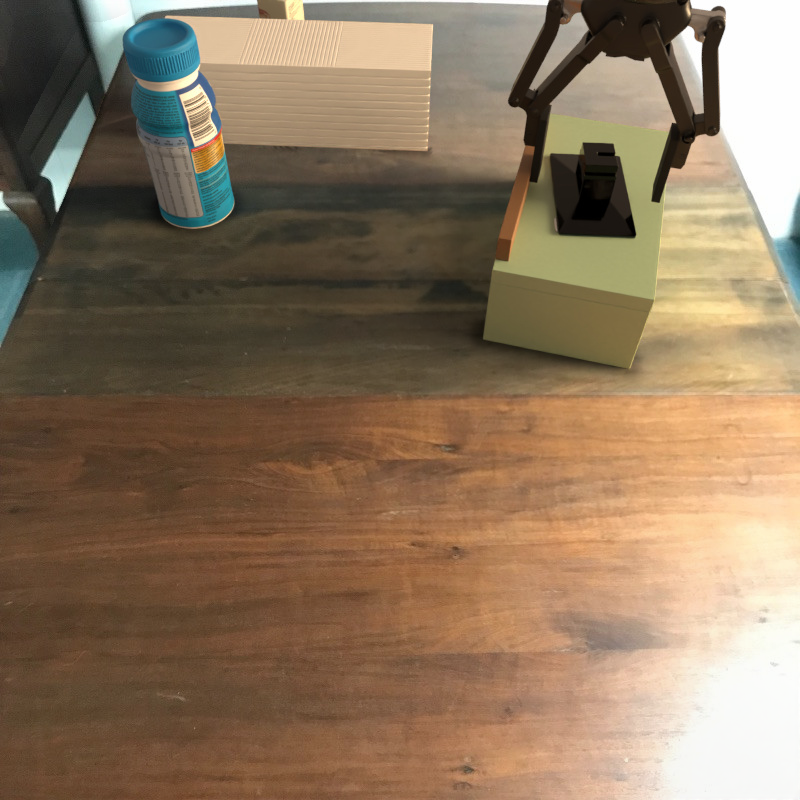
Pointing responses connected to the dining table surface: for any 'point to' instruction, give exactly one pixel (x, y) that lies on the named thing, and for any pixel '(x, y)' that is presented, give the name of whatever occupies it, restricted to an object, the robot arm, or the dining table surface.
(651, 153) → the olive green box
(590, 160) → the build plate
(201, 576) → the dining table surface
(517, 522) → the dining table surface
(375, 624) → the dining table surface
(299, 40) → the beige ridged block
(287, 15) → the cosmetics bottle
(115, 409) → the dining table surface
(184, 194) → the beverage bottle
